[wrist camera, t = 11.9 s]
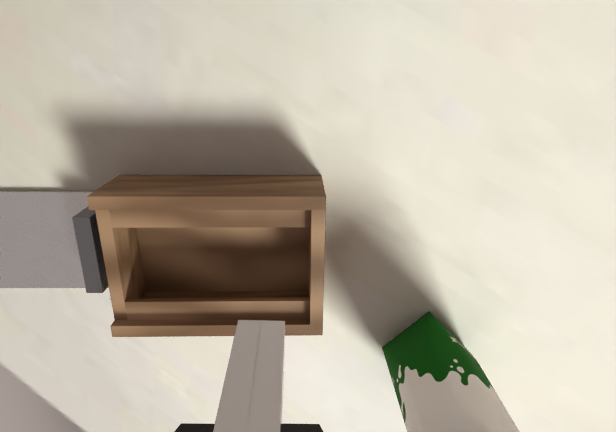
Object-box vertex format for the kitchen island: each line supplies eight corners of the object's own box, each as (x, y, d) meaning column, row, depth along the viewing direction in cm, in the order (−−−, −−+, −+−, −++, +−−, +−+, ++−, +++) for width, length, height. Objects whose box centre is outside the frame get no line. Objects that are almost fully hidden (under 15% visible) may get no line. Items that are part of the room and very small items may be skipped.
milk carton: (475, 346, 50) (583, 519, 31) (416, 389, 52) (484, 575, 33) (429, 301, 47) (517, 458, 29) (369, 348, 49) (414, 523, 31)
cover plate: (-47, 188, 42) (-85, 202, 38) (124, 189, 43) (105, 203, 38) (-20, 283, 46) (-51, 305, 42) (137, 283, 46) (122, 304, 42)
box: (119, 175, 41) (86, 196, 35) (321, 175, 42) (325, 196, 35) (138, 297, 46) (112, 336, 40) (318, 296, 47) (322, 335, 40)
